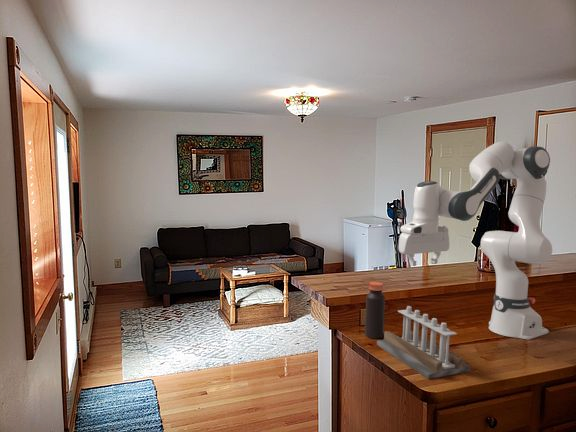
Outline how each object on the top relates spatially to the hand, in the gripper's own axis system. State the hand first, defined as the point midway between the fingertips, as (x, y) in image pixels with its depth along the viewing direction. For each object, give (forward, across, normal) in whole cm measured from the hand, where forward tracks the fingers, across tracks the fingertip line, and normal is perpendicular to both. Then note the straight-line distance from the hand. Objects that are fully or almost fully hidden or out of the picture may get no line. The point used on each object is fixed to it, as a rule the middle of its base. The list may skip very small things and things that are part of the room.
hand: (423, 264), depth 166 cm
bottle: (+28, +15, -9) cm, 33 cm away
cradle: (+28, +11, +14) cm, 33 cm away
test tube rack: (+26, +10, +14) cm, 32 cm away
